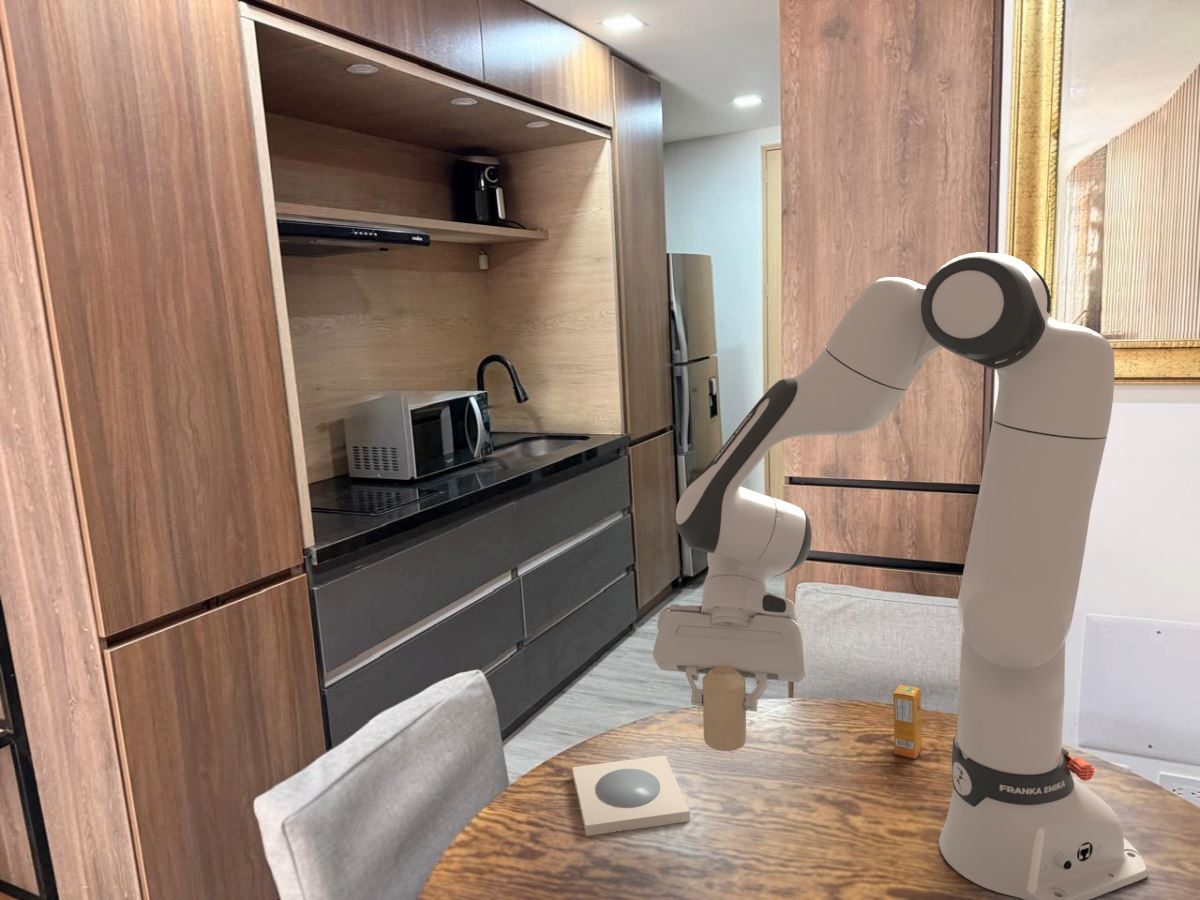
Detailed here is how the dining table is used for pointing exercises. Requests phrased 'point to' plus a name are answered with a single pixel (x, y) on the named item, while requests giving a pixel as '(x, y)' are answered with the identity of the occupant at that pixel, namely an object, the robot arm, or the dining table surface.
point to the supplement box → (907, 721)
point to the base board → (629, 795)
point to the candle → (724, 708)
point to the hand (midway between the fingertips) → (723, 707)
